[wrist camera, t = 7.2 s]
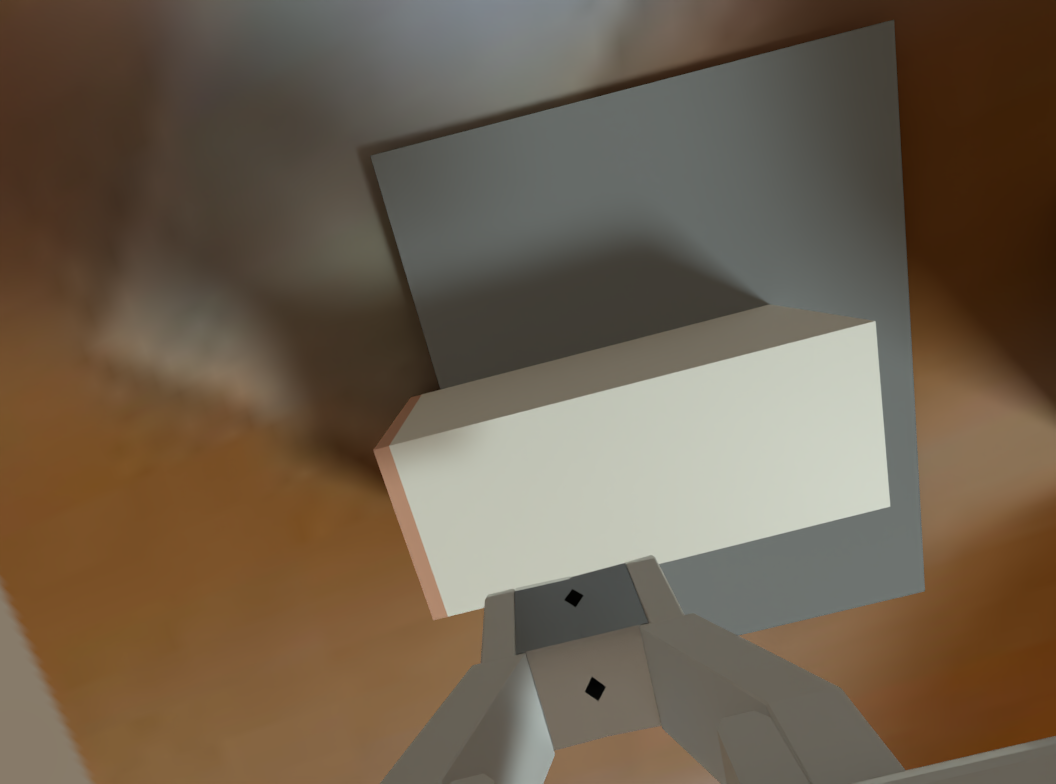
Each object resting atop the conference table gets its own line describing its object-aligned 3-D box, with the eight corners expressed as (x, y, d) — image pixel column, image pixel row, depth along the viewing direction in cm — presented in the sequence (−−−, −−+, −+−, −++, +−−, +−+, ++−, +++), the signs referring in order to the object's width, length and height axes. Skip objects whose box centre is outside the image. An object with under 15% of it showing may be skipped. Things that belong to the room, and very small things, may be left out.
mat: (374, 158, 16) (370, 155, 15) (881, 27, 16) (894, 19, 15) (528, 675, 21) (528, 685, 20) (914, 583, 20) (924, 591, 20)
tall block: (373, 450, 12) (875, 320, 12) (410, 397, 17) (769, 304, 17) (433, 620, 14) (890, 506, 13) (452, 526, 18) (787, 441, 18)
